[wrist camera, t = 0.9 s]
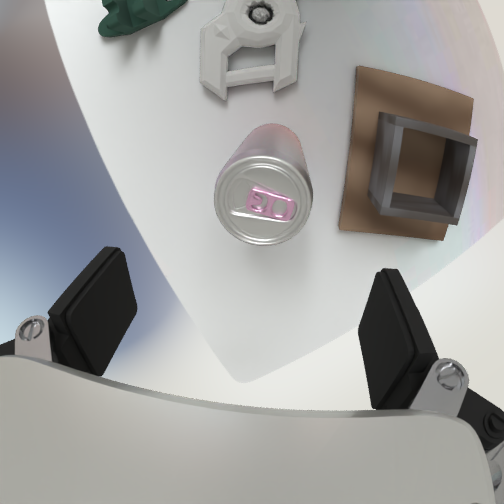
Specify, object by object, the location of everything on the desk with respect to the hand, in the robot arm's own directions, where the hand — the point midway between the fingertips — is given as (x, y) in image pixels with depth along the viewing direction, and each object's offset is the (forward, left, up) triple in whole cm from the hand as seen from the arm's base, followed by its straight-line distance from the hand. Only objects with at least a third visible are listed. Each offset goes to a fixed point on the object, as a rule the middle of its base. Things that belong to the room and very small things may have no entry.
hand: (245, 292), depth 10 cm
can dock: (-1, +15, -23) cm, 27 cm away
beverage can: (0, 0, -23) cm, 23 cm away
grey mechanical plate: (-15, -2, -23) cm, 27 cm away
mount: (-17, -14, -23) cm, 32 cm away
